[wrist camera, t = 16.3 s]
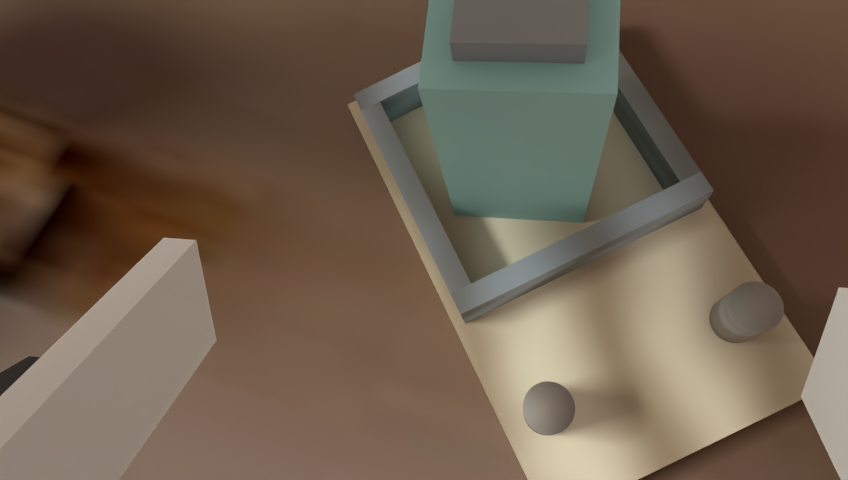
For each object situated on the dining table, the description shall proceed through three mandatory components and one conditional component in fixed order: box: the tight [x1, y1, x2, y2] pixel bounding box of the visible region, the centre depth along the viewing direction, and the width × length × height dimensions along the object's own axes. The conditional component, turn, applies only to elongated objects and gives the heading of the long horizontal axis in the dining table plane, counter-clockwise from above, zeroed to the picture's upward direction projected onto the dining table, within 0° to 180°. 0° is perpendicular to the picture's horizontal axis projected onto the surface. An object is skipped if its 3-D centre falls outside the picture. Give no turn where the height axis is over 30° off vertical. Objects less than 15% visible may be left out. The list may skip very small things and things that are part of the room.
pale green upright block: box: [418, 0, 621, 223], centre depth 26 cm, size 6×6×13 cm
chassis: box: [348, 50, 814, 480], centre depth 30 cm, size 13×22×4 cm, turn 25°
